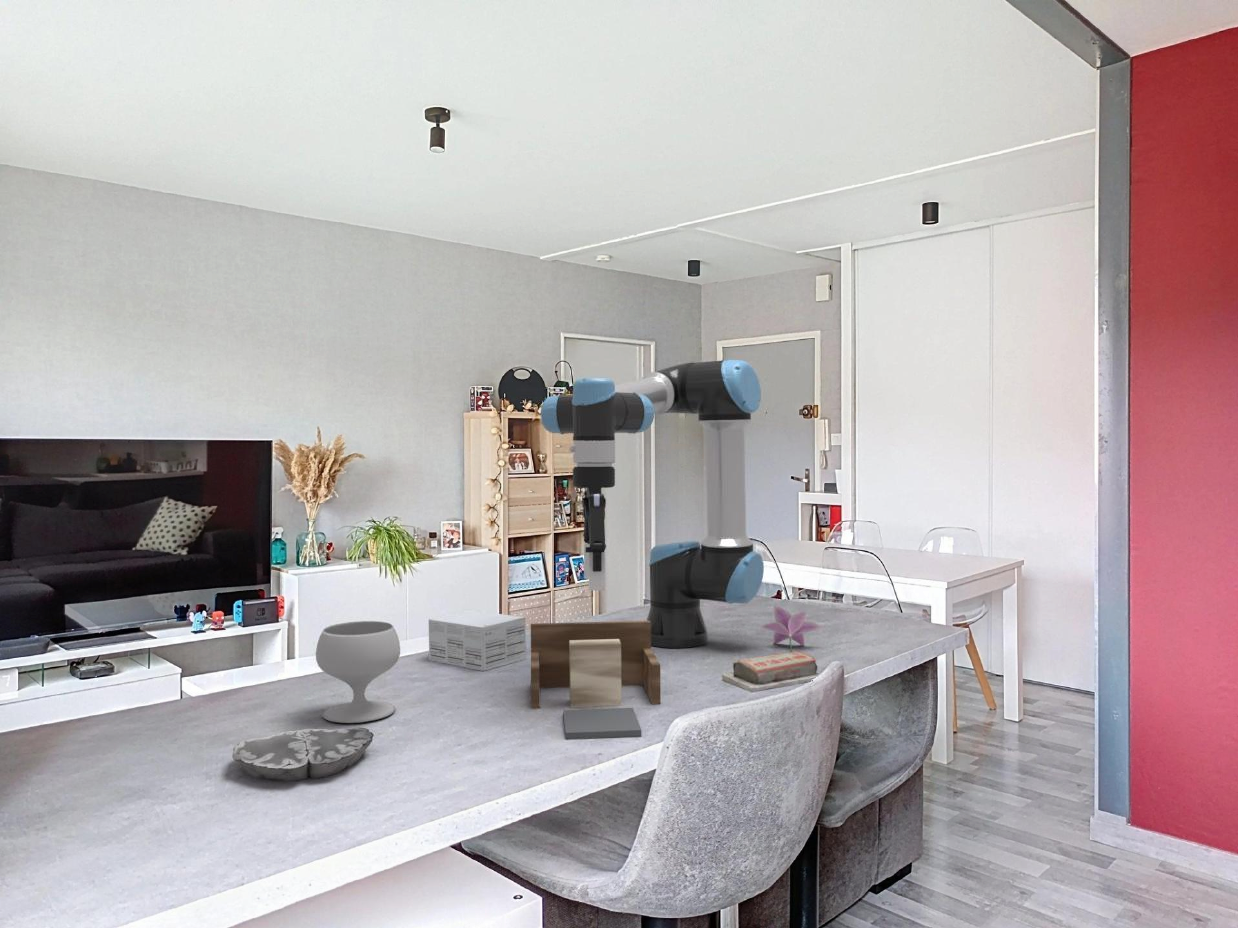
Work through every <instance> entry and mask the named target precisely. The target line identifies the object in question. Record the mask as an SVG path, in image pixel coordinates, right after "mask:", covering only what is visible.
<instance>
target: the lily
mask: <svg viewBox="0 0 1238 928" xmlns="http://www.w3.org/2000/svg"><path fill="white" fill-rule="evenodd" d="M773 615H774V619H775V622H769V623H766V624H764V625H762V626H761V628H763V629H766V630H769V631H772V632H774V633H773V638H772V643H773V644H775V645H776V644H779V643H781V642H784V641H786V640H789V649H790V652H793V651H792V650H793V648H792V640H793V641H795V642H796V643H797V644H799V645H801V646H805V637H804V634H805V633H809V632H812V631H816V630H819V629H822V626H821V625H820V624H818V623H815V622H813V621H809V620H805V619H806V615H807V612H806V610H802V611H799V612H797V613H795V614H794V615H792V614H791V613H790V612H789V610H786V609H784V608H783V607H780V606H778V605H775V606H774V607H773Z"/></svg>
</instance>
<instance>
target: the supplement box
mask: <svg viewBox="0 0 1238 928" xmlns="http://www.w3.org/2000/svg"><path fill="white" fill-rule="evenodd" d="M526 636H527V635H526V617H524V616H519V615H518V616H516V615H510V614H503V613H494V612H490V611H489V612H488V611H480V610H473V609H470V610H464V611H460V612H455V613H451V614H446V615H441V616H436V617H432V618H428V660H429V661H432V662H437V663H442V664H446V665H452V666H455V667H461V668H466V669H469V670H470V669H471V670H474V671H475V670H476V671H482V672H484V671H489V670H492V669H496V668H499V667H504V666H506V665H510V664H513V663H514V664H515V663H518V662H521V661H524V660H527V652H526V651H527V649H526V648H527V646H526V645H527V641H526V639H527V638H526Z"/></svg>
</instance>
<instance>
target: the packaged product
mask: <svg viewBox="0 0 1238 928" xmlns="http://www.w3.org/2000/svg"><path fill="white" fill-rule="evenodd" d="M732 667H733V671H732V672H727V673H721V678H722V681H724V682H726V683H728V684H731V685H733V686H736V687H738V688H741V689H744V690H746V691H748V692H752V693H755V692H761V691H765V690H769V689H777V688H784V687H788V686H795V685H801V684H805V683H810V682H809V681H811V680H812V679H814V678H816V677H817V676H818V675H819V674H820V673H818V672H817V671H818V668H819V667H818V664H817V663H816V659H815V657H813V655H810V654H806V653H804V652H799V651H792V652H791V651H790V652H785V653H775V654H770V655H769V654H768V655H765V656H757V657H750V658H749V657H748V658H743V659H738V660H735V661H734V662H733V665H732ZM811 682H812V681H811Z"/></svg>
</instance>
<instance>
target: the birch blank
mask: <svg viewBox="0 0 1238 928" xmlns="http://www.w3.org/2000/svg"><path fill="white" fill-rule="evenodd" d="M569 649H570V687H569V703H570V705H569V706H570V707H571V708H581V707H582V708H583V707H584V708H586V707H616V706H622V685H621V642H620V640H619V639H599V640H569Z"/></svg>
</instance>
